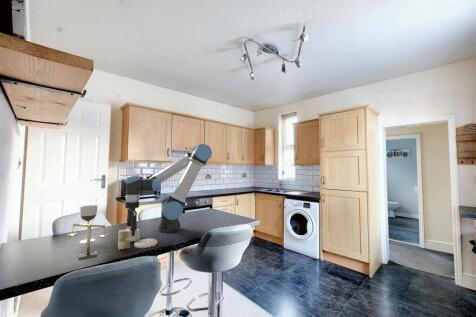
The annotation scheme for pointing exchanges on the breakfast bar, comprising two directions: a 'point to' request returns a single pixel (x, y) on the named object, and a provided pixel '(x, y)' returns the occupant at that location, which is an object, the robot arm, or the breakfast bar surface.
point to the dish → (145, 243)
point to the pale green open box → (137, 234)
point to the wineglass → (88, 215)
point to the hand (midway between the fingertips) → (130, 239)
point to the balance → (88, 240)
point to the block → (123, 239)
